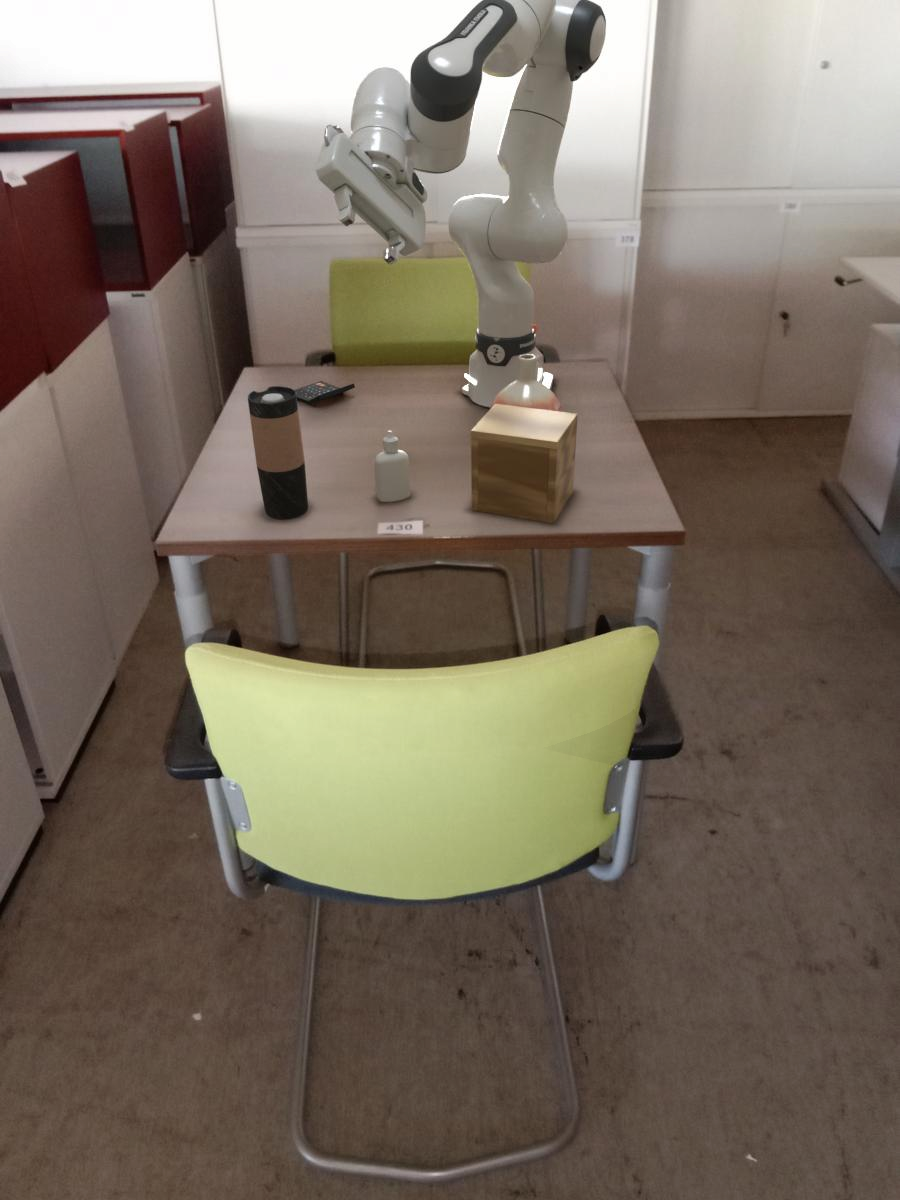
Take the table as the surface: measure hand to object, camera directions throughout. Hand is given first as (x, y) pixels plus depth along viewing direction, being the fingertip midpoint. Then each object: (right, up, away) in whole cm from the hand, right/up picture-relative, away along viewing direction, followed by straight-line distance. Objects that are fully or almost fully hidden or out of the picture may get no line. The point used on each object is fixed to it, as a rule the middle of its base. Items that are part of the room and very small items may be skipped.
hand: (368, 241), depth 132 cm
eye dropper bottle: (+2, -34, +25) cm, 42 cm away
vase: (+26, -23, +40) cm, 53 cm away
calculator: (-16, -8, +65) cm, 67 cm away
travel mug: (-16, -36, +22) cm, 45 cm away
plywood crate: (+24, -34, +23) cm, 48 cm away
